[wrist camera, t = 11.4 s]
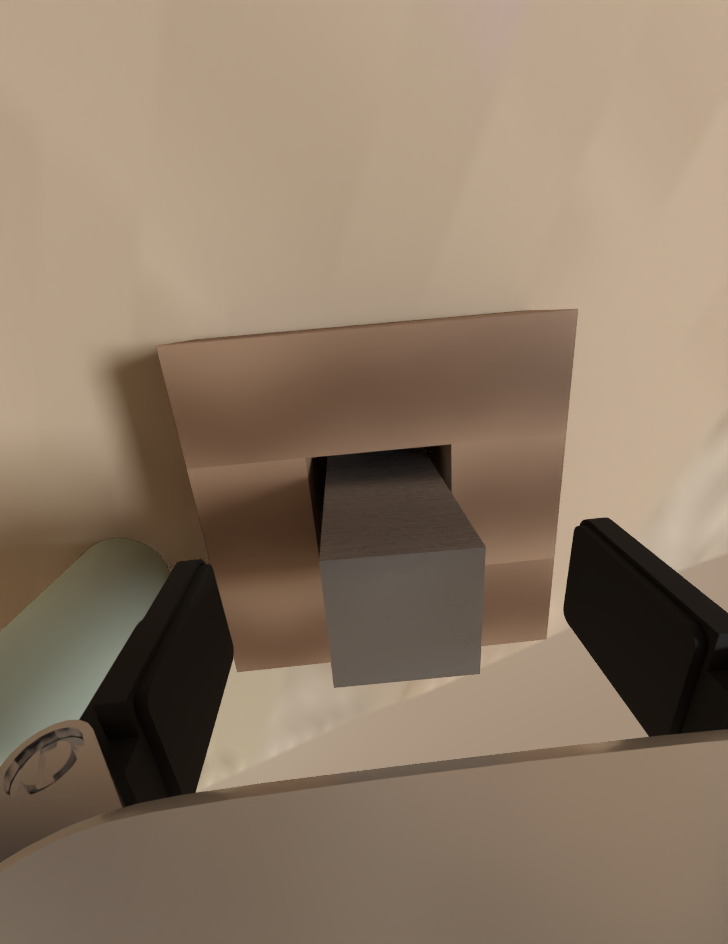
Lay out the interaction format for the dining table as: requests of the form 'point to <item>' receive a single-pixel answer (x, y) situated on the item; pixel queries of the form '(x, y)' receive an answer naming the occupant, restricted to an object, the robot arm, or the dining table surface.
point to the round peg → (73, 637)
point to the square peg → (398, 571)
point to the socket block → (367, 430)
